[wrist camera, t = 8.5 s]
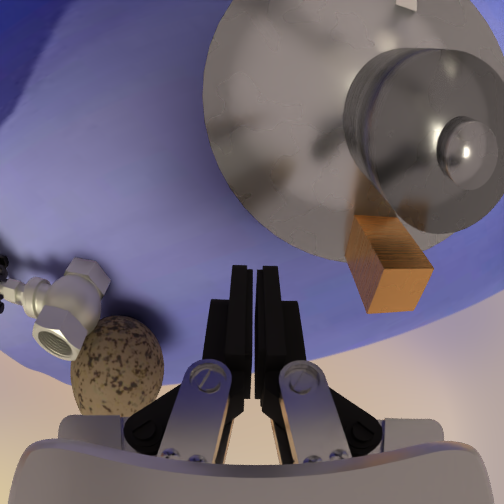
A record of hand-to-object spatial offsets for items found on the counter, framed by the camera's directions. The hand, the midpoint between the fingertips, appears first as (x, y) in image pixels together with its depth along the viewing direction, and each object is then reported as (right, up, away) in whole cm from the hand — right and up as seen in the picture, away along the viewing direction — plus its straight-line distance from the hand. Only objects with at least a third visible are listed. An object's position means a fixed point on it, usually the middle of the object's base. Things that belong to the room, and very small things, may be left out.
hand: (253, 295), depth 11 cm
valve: (-16, +1, +8) cm, 18 cm away
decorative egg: (-10, -4, +11) cm, 16 cm away
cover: (+7, +7, -1) cm, 10 cm away
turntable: (+6, +8, 0) cm, 10 cm away
